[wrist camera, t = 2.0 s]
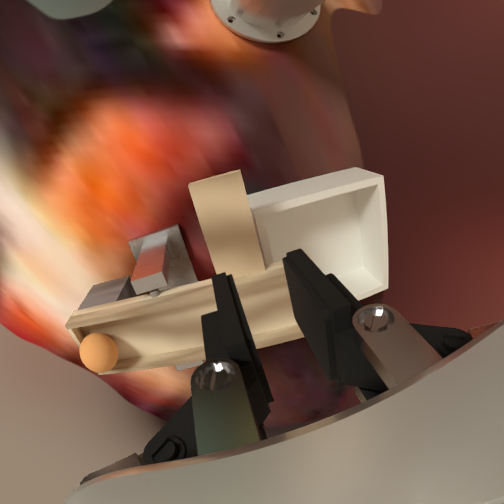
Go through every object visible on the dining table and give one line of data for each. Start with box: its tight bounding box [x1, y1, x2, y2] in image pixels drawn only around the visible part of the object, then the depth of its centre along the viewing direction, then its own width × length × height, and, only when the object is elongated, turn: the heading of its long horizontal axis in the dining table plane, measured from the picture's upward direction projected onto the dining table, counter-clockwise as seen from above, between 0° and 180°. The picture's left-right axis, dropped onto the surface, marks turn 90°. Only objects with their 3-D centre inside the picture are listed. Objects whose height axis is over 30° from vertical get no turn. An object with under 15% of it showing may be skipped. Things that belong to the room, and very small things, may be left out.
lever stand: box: [128, 224, 204, 371], centre depth 31 cm, size 13×6×10 cm, turn 14°
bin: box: [247, 167, 388, 301], centre depth 34 cm, size 15×15×6 cm
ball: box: [80, 333, 118, 373], centre depth 25 cm, size 4×4×4 cm
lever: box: [65, 170, 313, 375], centre depth 27 cm, size 16×24×8 cm, turn 104°
